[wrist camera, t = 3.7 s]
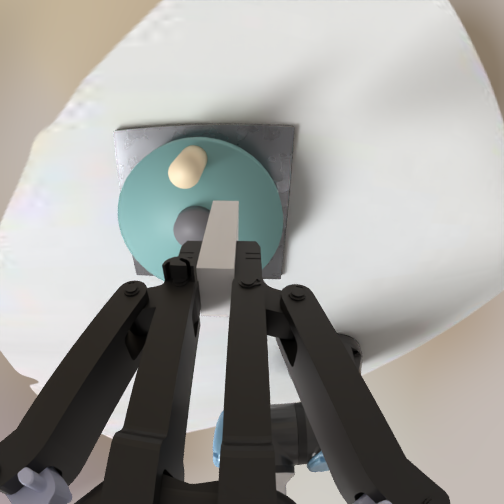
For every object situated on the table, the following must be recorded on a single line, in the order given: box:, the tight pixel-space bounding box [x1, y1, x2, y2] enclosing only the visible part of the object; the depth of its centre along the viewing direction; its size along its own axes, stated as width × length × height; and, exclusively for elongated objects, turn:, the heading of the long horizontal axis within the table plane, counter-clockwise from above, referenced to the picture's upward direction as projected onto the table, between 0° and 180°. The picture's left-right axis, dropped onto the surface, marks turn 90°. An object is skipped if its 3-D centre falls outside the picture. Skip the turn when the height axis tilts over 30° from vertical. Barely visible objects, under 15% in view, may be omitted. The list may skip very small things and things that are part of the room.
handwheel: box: [118, 137, 283, 281], centre depth 33 cm, size 20×20×7 cm
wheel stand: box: [113, 124, 294, 279], centre depth 37 cm, size 22×22×3 cm
